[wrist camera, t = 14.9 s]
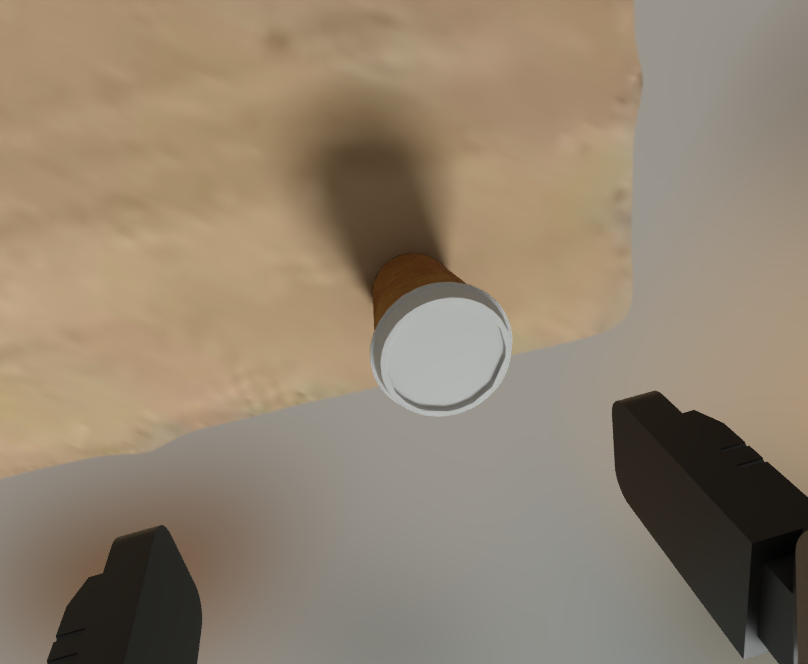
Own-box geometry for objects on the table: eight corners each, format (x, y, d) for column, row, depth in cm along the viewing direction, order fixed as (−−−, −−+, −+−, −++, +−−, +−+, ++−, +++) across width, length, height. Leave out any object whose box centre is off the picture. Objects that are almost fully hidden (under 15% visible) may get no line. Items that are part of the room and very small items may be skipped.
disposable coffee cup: (404, 364, 54) (436, 447, 44) (327, 289, 50) (341, 361, 39) (491, 290, 53) (546, 358, 42) (418, 207, 49) (459, 258, 38)
